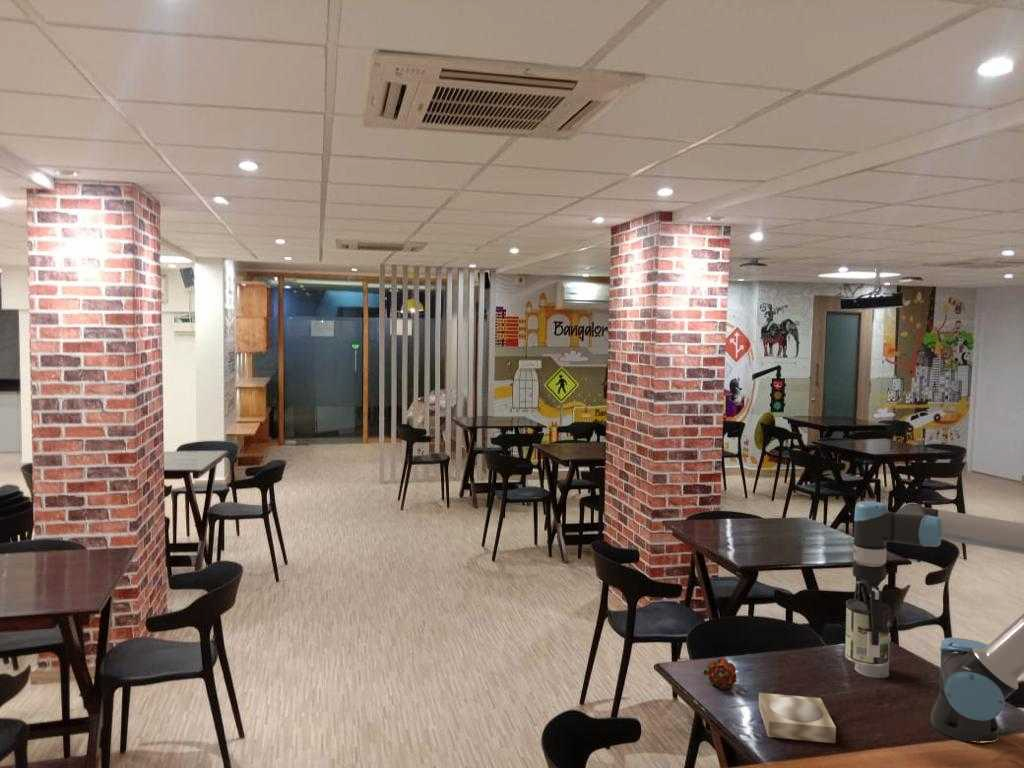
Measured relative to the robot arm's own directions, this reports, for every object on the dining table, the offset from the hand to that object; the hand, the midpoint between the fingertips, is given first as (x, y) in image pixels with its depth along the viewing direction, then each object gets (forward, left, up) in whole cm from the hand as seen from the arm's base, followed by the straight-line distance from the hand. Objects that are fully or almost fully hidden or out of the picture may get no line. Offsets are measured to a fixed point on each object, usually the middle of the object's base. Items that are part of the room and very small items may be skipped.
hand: (866, 648), depth 189 cm
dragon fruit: (+34, -20, -22) cm, 45 cm away
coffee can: (0, 0, -3) cm, 3 cm away
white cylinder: (-13, -39, -22) cm, 47 cm away
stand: (+17, 0, -22) cm, 28 cm away
